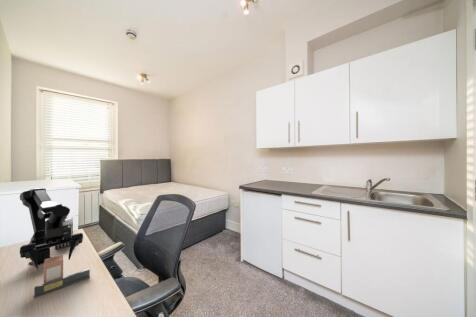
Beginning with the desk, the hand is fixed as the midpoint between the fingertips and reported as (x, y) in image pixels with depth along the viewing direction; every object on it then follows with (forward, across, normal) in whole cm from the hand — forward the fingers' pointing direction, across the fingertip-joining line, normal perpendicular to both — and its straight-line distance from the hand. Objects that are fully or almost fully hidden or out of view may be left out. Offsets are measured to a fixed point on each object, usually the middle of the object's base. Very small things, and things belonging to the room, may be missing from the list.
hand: (53, 263), depth 73 cm
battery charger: (-22, +4, +34) cm, 41 cm away
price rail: (+9, +3, +3) cm, 10 cm away
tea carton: (+5, 0, +7) cm, 9 cm away
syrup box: (-28, +4, +40) cm, 49 cm away
